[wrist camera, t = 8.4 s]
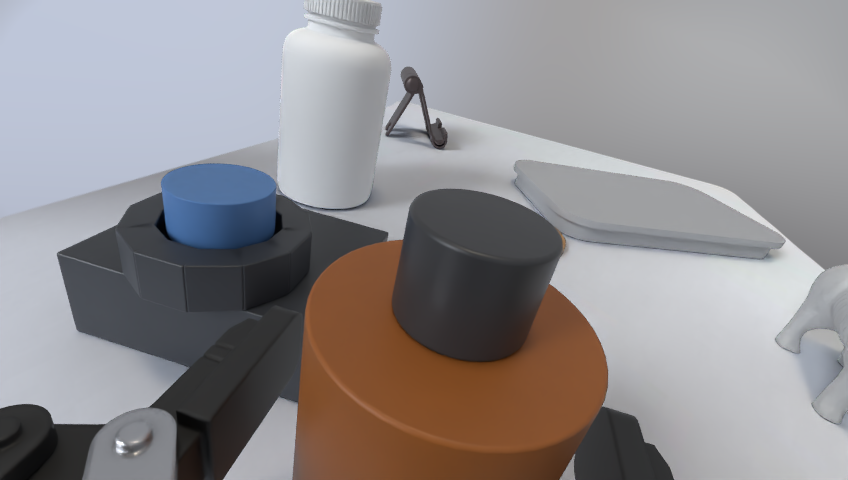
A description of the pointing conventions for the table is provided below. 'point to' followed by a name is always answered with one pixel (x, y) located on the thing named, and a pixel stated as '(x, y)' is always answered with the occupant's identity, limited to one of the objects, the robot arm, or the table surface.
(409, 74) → the tablet stand
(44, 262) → the table surface
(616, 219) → the tablet
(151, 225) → the dark grey button base
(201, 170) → the blue push button
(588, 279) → the table surface
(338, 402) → the bottle
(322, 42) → the pill bottle
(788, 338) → the grey animal figurine
